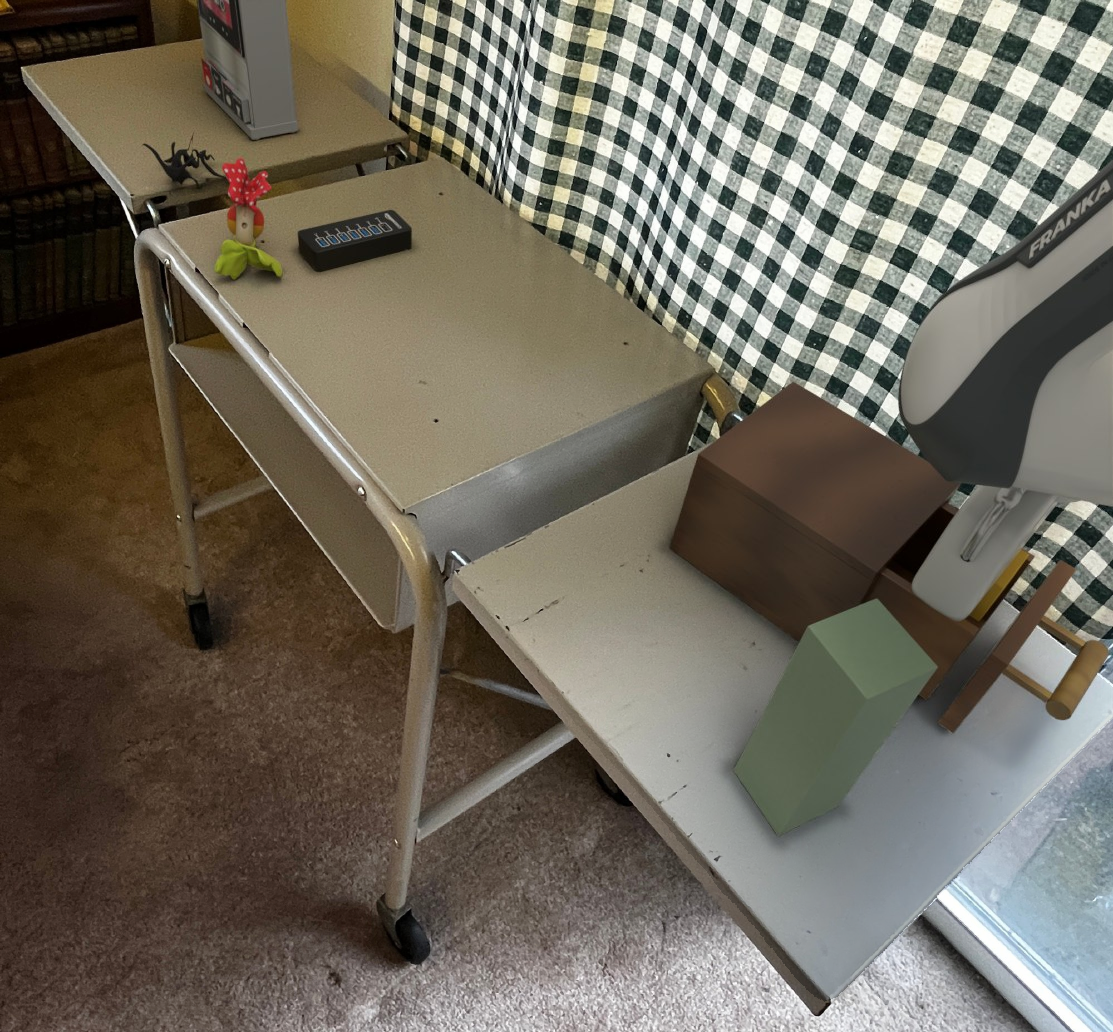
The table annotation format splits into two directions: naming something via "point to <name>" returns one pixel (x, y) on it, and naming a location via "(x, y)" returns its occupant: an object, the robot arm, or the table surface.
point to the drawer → (953, 637)
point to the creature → (178, 170)
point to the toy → (999, 586)
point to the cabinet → (803, 509)
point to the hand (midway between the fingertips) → (967, 576)
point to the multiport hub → (354, 240)
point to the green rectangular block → (831, 713)
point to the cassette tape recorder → (249, 63)
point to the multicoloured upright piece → (244, 223)
